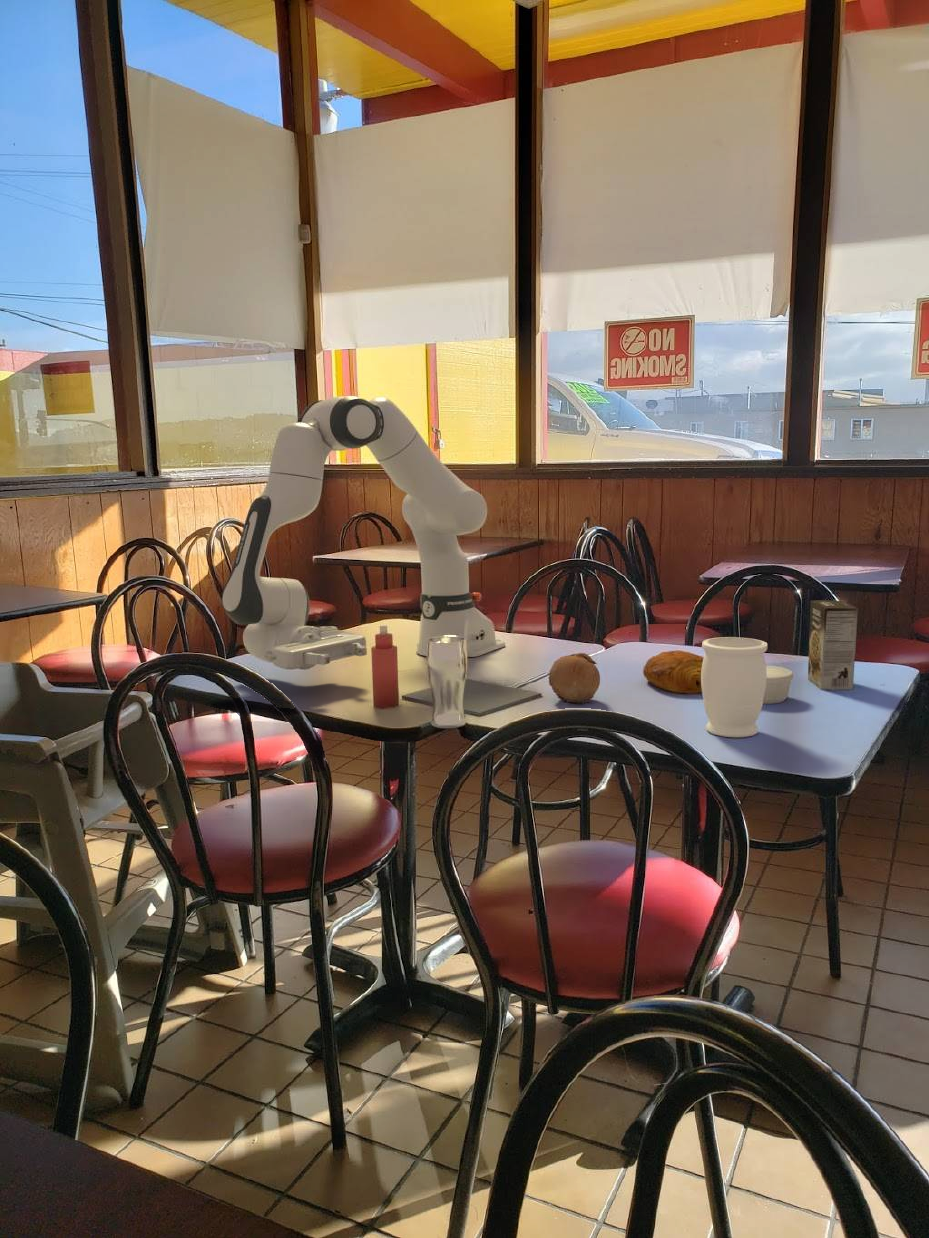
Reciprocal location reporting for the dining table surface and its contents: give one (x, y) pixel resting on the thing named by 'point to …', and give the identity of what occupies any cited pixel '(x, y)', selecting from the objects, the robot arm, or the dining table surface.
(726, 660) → the jar
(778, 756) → the dining table surface
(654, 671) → the croissant
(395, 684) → the bottle
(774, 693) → the ramekin
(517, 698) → the mat
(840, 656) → the coffee box
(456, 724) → the beer glass
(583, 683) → the brown round fruit
